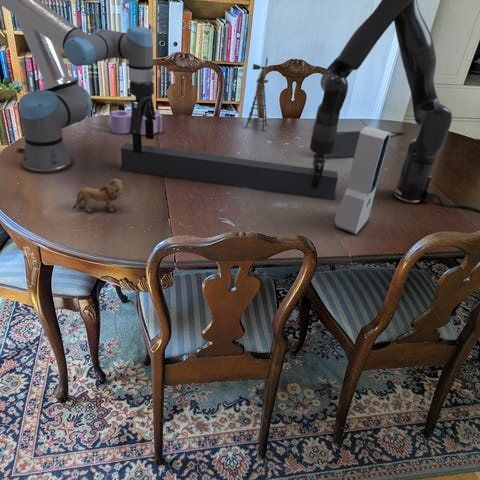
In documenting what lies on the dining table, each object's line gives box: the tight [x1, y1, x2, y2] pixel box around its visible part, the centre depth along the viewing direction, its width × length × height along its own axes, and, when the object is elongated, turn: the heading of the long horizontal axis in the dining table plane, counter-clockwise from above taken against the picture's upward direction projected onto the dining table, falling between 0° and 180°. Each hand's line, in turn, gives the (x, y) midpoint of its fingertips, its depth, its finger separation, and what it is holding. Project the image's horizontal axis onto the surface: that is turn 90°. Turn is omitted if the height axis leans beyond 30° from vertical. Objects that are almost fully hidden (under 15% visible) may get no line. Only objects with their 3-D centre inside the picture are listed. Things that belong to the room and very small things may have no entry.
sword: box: [390, 131, 407, 137], centre depth 214 cm, size 31×3×1 cm, turn 126°
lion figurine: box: [71, 178, 124, 213], centre depth 135 cm, size 15×5×9 cm, turn 110°
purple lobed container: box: [109, 109, 163, 136], centre depth 192 cm, size 20×12×7 cm, turn 109°
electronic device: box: [334, 125, 392, 235], centre depth 136 cm, size 12×8×30 cm, turn 148°
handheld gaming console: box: [325, 130, 362, 159], centre depth 188 cm, size 23×3×10 cm, turn 108°
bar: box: [120, 142, 339, 200], centre depth 159 cm, size 73×5×8 cm, turn 83°
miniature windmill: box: [245, 57, 269, 131], centre depth 203 cm, size 9×8×30 cm
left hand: (143, 145), depth 158 cm, fingers open, 13 cm apart
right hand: (314, 184), depth 158 cm, fingers closed on bar, 5 cm apart
